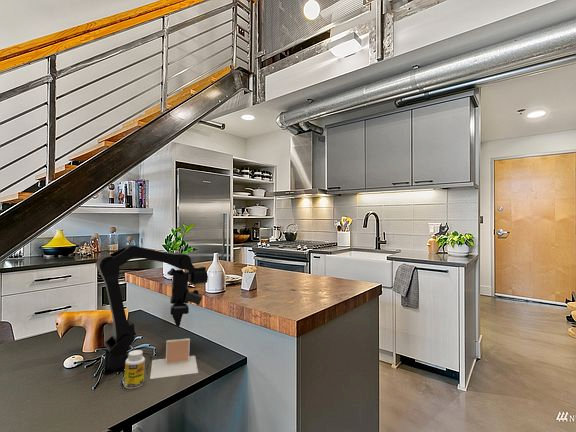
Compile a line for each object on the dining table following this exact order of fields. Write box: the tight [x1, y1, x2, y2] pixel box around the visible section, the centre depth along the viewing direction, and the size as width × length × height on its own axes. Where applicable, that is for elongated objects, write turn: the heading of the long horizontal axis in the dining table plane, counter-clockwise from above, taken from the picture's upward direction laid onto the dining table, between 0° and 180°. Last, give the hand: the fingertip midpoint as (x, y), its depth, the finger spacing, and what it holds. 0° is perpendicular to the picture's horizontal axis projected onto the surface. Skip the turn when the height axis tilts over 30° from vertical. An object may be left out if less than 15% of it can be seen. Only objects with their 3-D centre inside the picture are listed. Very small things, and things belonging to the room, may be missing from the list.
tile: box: [165, 338, 191, 364], centre depth 113 cm, size 8×2×8 cm, turn 111°
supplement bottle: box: [123, 349, 146, 390], centre depth 98 cm, size 6×6×10 cm
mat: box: [149, 355, 199, 380], centre depth 110 cm, size 15×14×1 cm
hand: (177, 326), depth 121 cm, fingers closed
